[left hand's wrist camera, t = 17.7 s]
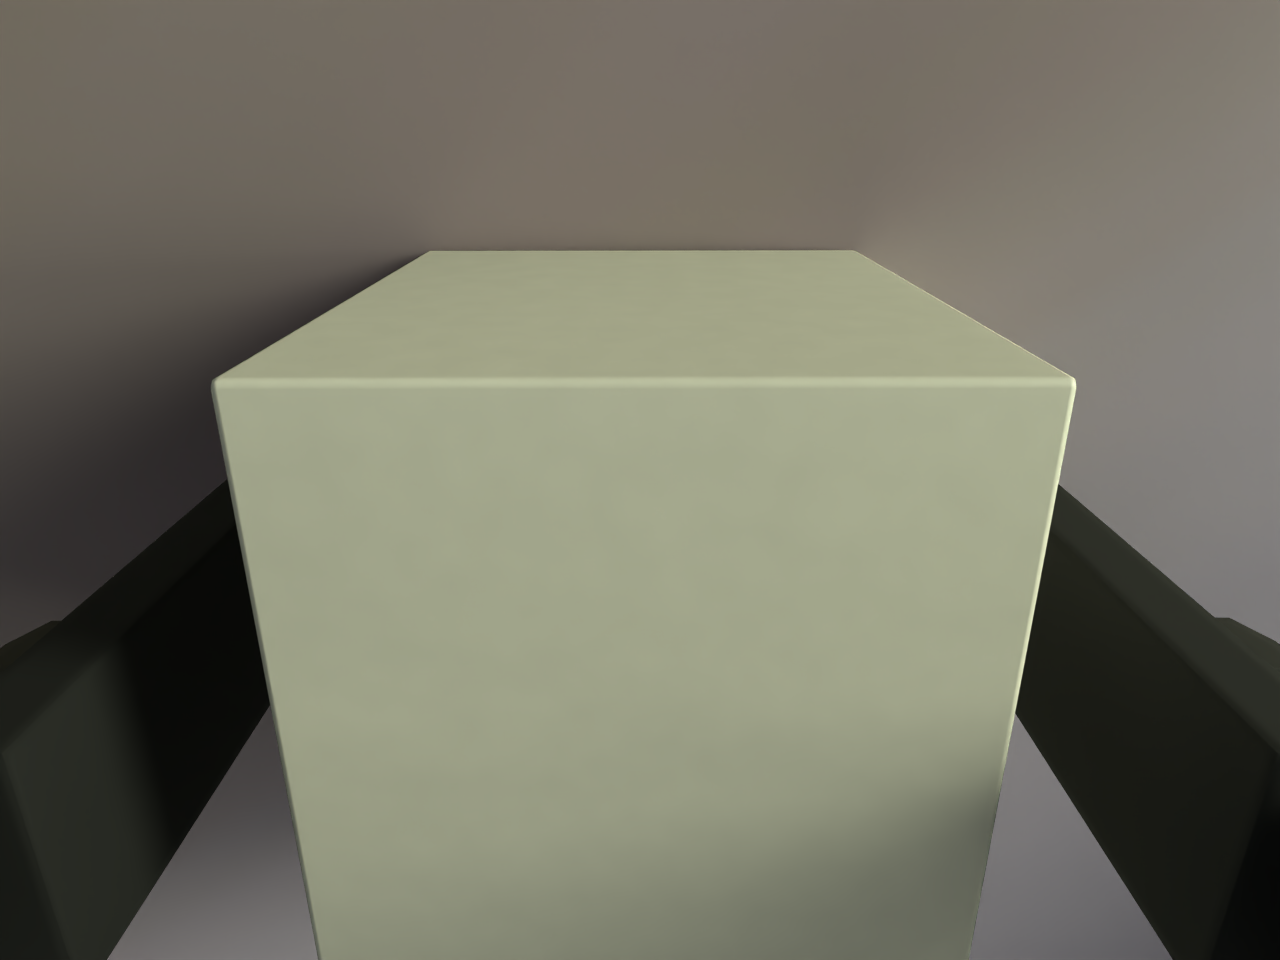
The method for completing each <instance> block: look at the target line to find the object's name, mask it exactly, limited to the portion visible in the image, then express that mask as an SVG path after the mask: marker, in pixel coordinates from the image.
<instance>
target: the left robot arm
mask: <svg viewBox="0 0 1280 960" xmlns="http://www.w3.org/2000/svg"><path fill="white" fill-rule="evenodd" d="M269 706H270V700H269V695H268V690H267V685H266V679H265V674H264V669H263V663H262V658H261V653H260V647H259V642H258V637H257V632H256V626H255V621H254V616H253V610H252V605H251V600H250V594H249V589H248V584H247V579H246V573H245V568H244V563H243V557H242V552H241V547H240V541H239V536H238V531H237V525H236V520H235V515H234V510H233V504H232V499H231V494H230V488H229V483H228V479H227V480H226V481H225V482H224V483H222V484H221V485H220V486H219V487H218V488H217V489H215V490H214V491H213V492H212V493H211V494H209V495H208V496H207V497H206V498H205V499H204V500H202V501H201V502H200V503H199V504H198V505H197V506H195V507H194V508H193V509H192V510H191V511H190V512H188V513H187V514H186V515H185V516H184V517H183V518H181V519H180V520H179V521H178V522H177V523H176V524H174V525H173V526H172V527H171V528H170V529H169V530H167V531H166V532H165V533H164V534H163V535H161V536H160V537H159V538H158V539H157V540H156V541H154V542H153V543H152V544H151V545H150V546H149V547H147V548H146V549H145V550H144V551H143V552H142V553H140V554H139V555H138V556H137V557H136V558H135V559H133V560H132V561H131V562H130V563H129V564H128V565H126V566H125V567H124V568H123V569H122V570H121V571H119V572H118V573H117V574H116V575H115V576H113V577H112V578H111V579H110V580H109V581H108V582H106V583H105V584H104V585H103V586H102V587H101V588H99V589H98V590H97V591H96V592H95V593H94V594H92V595H91V596H90V597H89V598H88V599H87V600H85V601H84V602H83V603H82V604H81V605H80V606H78V607H77V608H76V609H75V610H74V611H73V612H71V613H70V614H69V615H68V616H67V617H65V618H64V619H63V620H62V621H50V622H49V623H47V624H45V625H43V626H41V627H39V628H37V629H35V630H33V631H31V632H29V633H27V634H25V635H23V636H21V637H19V638H17V639H15V640H13V641H11V642H9V643H7V644H5V645H4V646H3V647H2V648H0V960H107V959H108V957H109V955H110V954H111V952H112V951H113V949H114V948H115V946H116V945H117V943H118V941H119V940H120V938H121V937H122V935H123V934H124V932H125V930H126V929H127V927H128V926H129V924H130V923H131V921H132V920H133V918H134V916H135V915H136V913H137V912H138V910H139V909H140V907H141V905H142V904H143V902H144V901H145V899H146V898H147V896H148V895H149V893H150V891H151V890H152V888H153V887H154V885H155V884H156V882H157V880H158V879H159V877H160V876H161V874H162V873H163V871H164V870H165V868H166V866H167V865H168V863H169V862H170V860H171V859H172V857H173V856H174V854H175V852H176V851H177V849H178V848H179V846H180V845H181V843H182V841H183V840H184V838H185V837H186V835H187V834H188V832H189V831H190V829H191V827H192V826H193V824H194V823H195V821H196V820H197V818H198V816H199V815H200V813H201V812H202V810H203V809H204V807H205V806H206V804H207V802H208V801H209V799H210V798H211V796H212V795H213V793H214V791H215V790H216V788H217V787H218V785H219V784H220V782H221V781H222V779H223V777H224V776H225V774H226V773H227V771H228V770H229V768H230V766H231V765H232V763H233V762H234V760H235V759H236V757H237V756H238V754H239V752H240V751H241V749H242V748H243V746H244V745H245V743H246V741H247V740H248V738H249V737H250V735H251V734H252V732H253V731H254V729H255V727H256V726H257V724H258V723H259V721H260V720H261V718H262V716H263V715H264V713H265V712H266V710H267V709H268V707H269ZM1015 713H1016V715H1017V717H1018V718H1019V720H1020V721H1021V723H1022V724H1023V726H1024V727H1025V729H1026V731H1027V732H1028V734H1029V735H1030V737H1031V738H1032V740H1033V742H1034V743H1035V745H1036V746H1037V748H1038V749H1039V751H1040V752H1041V754H1042V756H1043V757H1044V759H1045V760H1046V762H1047V763H1048V765H1049V766H1050V768H1051V770H1052V771H1053V773H1054V774H1055V776H1056V777H1057V779H1058V781H1059V782H1060V784H1061V785H1062V787H1063V788H1064V790H1065V791H1066V793H1067V795H1068V796H1069V798H1070V799H1071V801H1072V802H1073V804H1074V806H1075V807H1076V809H1077V810H1078V812H1079V813H1080V815H1081V816H1082V818H1083V820H1084V821H1085V823H1086V824H1087V826H1088V827H1089V829H1090V831H1091V832H1092V834H1093V835H1094V837H1095V838H1096V840H1097V841H1098V843H1099V845H1100V846H1101V848H1102V849H1103V851H1104V852H1105V854H1106V856H1107V857H1108V859H1109V860H1110V862H1111V863H1112V865H1113V866H1114V868H1115V870H1116V871H1117V873H1118V874H1119V876H1120V877H1121V879H1122V881H1123V882H1124V884H1125V885H1126V887H1127V888H1128V890H1129V891H1130V893H1131V895H1132V896H1133V898H1134V899H1135V901H1136V902H1137V904H1138V906H1139V907H1140V909H1141V910H1142V912H1143V913H1144V915H1145V916H1146V918H1147V920H1148V921H1149V923H1150V924H1151V926H1152V927H1153V929H1154V931H1155V932H1156V934H1157V935H1158V937H1159V938H1160V940H1161V941H1162V943H1163V945H1164V946H1165V948H1166V949H1167V951H1168V952H1169V954H1170V956H1171V957H1172V959H1173V960H1280V644H1278V643H1277V642H1276V641H1274V640H1272V639H1270V638H1268V637H1266V636H1264V635H1262V634H1260V633H1258V632H1256V631H1254V630H1252V629H1250V628H1248V627H1246V626H1244V625H1242V624H1240V623H1238V622H1236V621H1234V620H1232V619H1230V618H1214V617H1213V616H1212V615H1211V614H1210V613H1209V612H1207V611H1206V610H1205V609H1204V608H1203V607H1202V606H1200V605H1199V604H1198V603H1197V602H1196V601H1195V600H1193V599H1192V598H1191V597H1190V596H1189V595H1188V594H1186V593H1185V592H1184V591H1183V590H1182V589H1181V588H1179V587H1178V586H1177V585H1176V584H1175V583H1174V582H1172V581H1171V580H1170V579H1169V578H1168V577H1166V576H1165V575H1164V574H1163V573H1162V572H1161V571H1159V570H1158V569H1157V568H1156V567H1155V566H1154V565H1152V564H1151V563H1150V562H1149V561H1148V560H1147V559H1145V558H1144V557H1143V556H1142V555H1141V554H1140V553H1138V552H1137V551H1136V550H1135V549H1134V548H1133V547H1131V546H1130V545H1129V544H1128V543H1127V542H1126V541H1124V540H1123V539H1122V538H1121V537H1120V536H1118V535H1117V534H1116V533H1115V532H1114V531H1113V530H1111V529H1110V528H1109V527H1108V526H1107V525H1106V524H1104V523H1103V522H1102V521H1101V520H1100V519H1099V518H1097V517H1096V516H1095V515H1094V514H1093V513H1092V512H1090V511H1089V510H1088V509H1087V508H1086V507H1085V506H1083V505H1082V504H1081V503H1080V502H1079V501H1078V500H1076V499H1075V498H1074V497H1073V496H1072V495H1070V494H1069V493H1068V492H1067V491H1066V490H1065V489H1063V488H1062V487H1061V486H1060V485H1059V484H1058V488H1057V493H1056V498H1055V503H1054V509H1053V514H1052V519H1051V525H1050V530H1049V535H1048V541H1047V546H1046V551H1045V557H1044V562H1043V567H1042V572H1041V578H1040V583H1039V588H1038V594H1037V599H1036V604H1035V610H1034V615H1033V620H1032V626H1031V631H1030V636H1029V641H1028V647H1027V652H1026V657H1025V663H1024V668H1023V673H1022V679H1021V684H1020V689H1019V695H1018V700H1017V705H1016V710H1015Z"/></svg>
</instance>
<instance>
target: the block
mask: <svg viewBox="0 0 1280 960" xmlns="http://www.w3.org/2000/svg"><path fill="white" fill-rule="evenodd" d="M1075 392H1076V382H1075V379H1074V378H1073V377H1071V376H1069V375H1068V374H1066V373H1064V372H1062V371H1061V370H1059V369H1057V368H1056V367H1054V366H1052V365H1050V364H1049V363H1047V362H1045V361H1044V360H1042V359H1040V358H1038V357H1037V356H1035V355H1033V354H1032V353H1030V352H1028V351H1026V350H1025V349H1023V348H1021V347H1020V346H1018V345H1016V344H1014V343H1013V342H1011V341H1009V340H1007V339H1006V338H1004V337H1002V336H1001V335H999V334H997V333H995V332H994V331H992V330H990V329H989V328H987V327H985V326H983V325H982V324H980V323H978V322H977V321H975V320H973V319H971V318H970V317H968V316H966V315H964V314H963V313H961V312H959V311H958V310H956V309H954V308H952V307H951V306H949V305H947V304H946V303H944V302H942V301H940V300H939V299H937V298H935V297H934V296H932V295H930V294H928V293H927V292H925V291H923V290H922V289H920V288H918V287H916V286H915V285H913V284H911V283H909V282H908V281H906V280H904V279H903V278H901V277H899V276H897V275H896V274H894V273H892V272H891V271H889V270H887V269H885V268H884V267H882V266H880V265H879V264H877V263H875V262H873V261H872V260H870V259H868V258H866V257H865V256H863V255H861V254H860V253H858V252H856V251H854V250H721V251H429V252H427V253H425V254H423V255H422V256H420V257H418V258H417V259H415V260H413V261H412V262H410V263H408V264H407V265H405V266H403V267H402V268H400V269H398V270H396V271H395V272H393V273H391V274H390V275H388V276H386V277H385V278H383V279H381V280H380V281H378V282H376V283H375V284H373V285H371V286H370V287H368V288H366V289H364V290H363V291H361V292H359V293H358V294H356V295H354V296H353V297H351V298H349V299H348V300H346V301H344V302H343V303H341V304H339V305H338V306H336V307H334V308H332V309H331V310H329V311H327V312H326V313H324V314H322V315H321V316H319V317H317V318H316V319H314V320H312V321H311V322H309V323H307V324H306V325H304V326H302V327H300V328H299V329H297V330H295V331H294V332H292V333H290V334H289V335H287V336H285V337H284V338H282V339H280V340H279V341H277V342H275V343H274V344H272V345H270V346H269V347H267V348H265V349H263V350H262V351H260V352H258V353H257V354H255V355H253V356H252V357H250V358H248V359H247V360H245V361H243V362H242V363H240V364H238V365H237V366H235V367H233V368H231V369H230V370H228V371H226V372H225V373H223V374H221V375H220V376H218V377H216V378H215V379H213V380H212V383H211V393H212V398H213V404H214V409H215V414H216V419H217V425H218V430H219V435H220V441H221V446H222V451H223V457H224V462H225V467H226V472H227V478H228V483H229V488H230V494H231V499H232V504H233V510H234V515H235V520H236V525H237V531H238V536H239V541H240V547H241V552H242V557H243V563H244V568H245V573H246V579H247V584H248V589H249V594H250V600H251V605H252V610H253V616H254V621H255V626H256V632H257V637H258V642H259V647H260V653H261V658H262V663H263V669H264V674H265V679H266V685H267V690H268V695H269V700H270V706H271V711H272V716H273V722H274V727H275V732H276V738H277V743H278V748H279V754H280V759H281V764H282V769H283V775H284V780H285V785H286V791H287V796H288V801H289V807H290V812H291V817H292V822H293V828H294V833H295V838H296V844H297V849H298V854H299V860H300V865H301V870H302V875H303V881H304V886H305V891H306V897H307V902H308V907H309V913H310V918H311V923H312V928H313V934H314V939H315V944H316V950H317V955H318V960H969V955H970V949H971V944H972V939H973V933H974V928H975V923H976V918H977V912H978V907H979V902H980V896H981V891H982V886H983V880H984V875H985V870H986V864H987V859H988V854H989V849H990V843H991V838H992V833H993V827H994V822H995V817H996V811H997V806H998V801H999V795H1000V790H1001V785H1002V780H1003V774H1004V769H1005V764H1006V758H1007V753H1008V748H1009V742H1010V737H1011V732H1012V726H1013V721H1014V716H1015V710H1016V705H1017V700H1018V695H1019V689H1020V684H1021V679H1022V673H1023V668H1024V663H1025V657H1026V652H1027V647H1028V641H1029V636H1030V631H1031V626H1032V620H1033V615H1034V610H1035V604H1036V599H1037V594H1038V588H1039V583H1040V578H1041V572H1042V567H1043V562H1044V557H1045V551H1046V546H1047V541H1048V535H1049V530H1050V525H1051V519H1052V514H1053V509H1054V503H1055V498H1056V493H1057V488H1058V482H1059V477H1060V472H1061V466H1062V461H1063V456H1064V450H1065V445H1066V440H1067V434H1068V429H1069V424H1070V418H1071V413H1072V408H1073V403H1074V397H1075Z"/></svg>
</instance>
